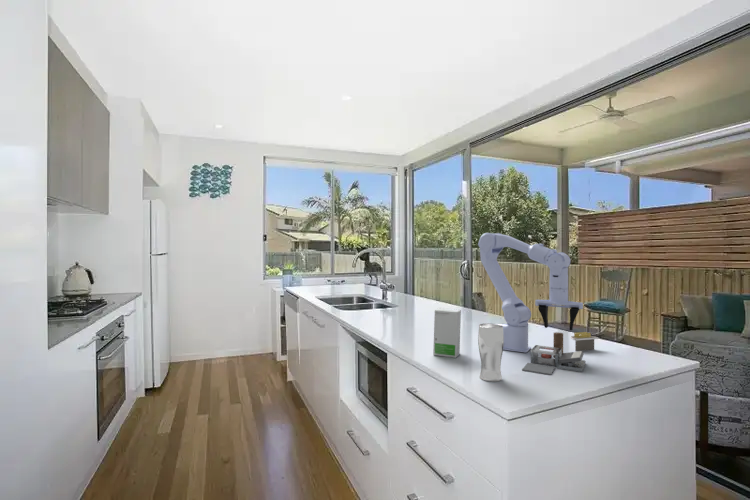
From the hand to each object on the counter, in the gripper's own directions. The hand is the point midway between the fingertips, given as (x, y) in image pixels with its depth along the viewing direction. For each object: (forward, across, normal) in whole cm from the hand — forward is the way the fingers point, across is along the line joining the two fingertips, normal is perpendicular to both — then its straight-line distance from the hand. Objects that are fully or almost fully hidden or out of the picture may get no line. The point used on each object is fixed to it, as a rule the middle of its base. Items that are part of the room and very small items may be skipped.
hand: (558, 328), depth 136 cm
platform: (+10, +6, +15) cm, 19 cm away
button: (+8, -2, -8) cm, 12 cm away
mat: (+10, -3, -18) cm, 21 cm away
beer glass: (+10, -13, -34) cm, 38 cm away
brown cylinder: (+10, 0, 0) cm, 10 cm away
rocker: (+7, +5, -9) cm, 12 cm away
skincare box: (+10, -33, -17) cm, 38 cm away
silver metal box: (+10, +1, -9) cm, 13 cm away
